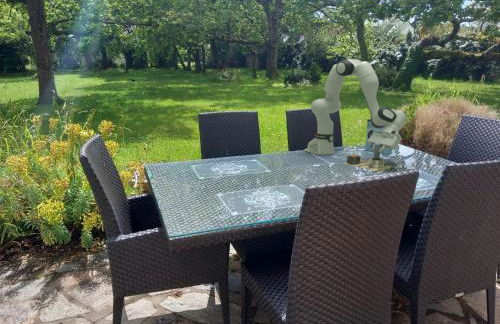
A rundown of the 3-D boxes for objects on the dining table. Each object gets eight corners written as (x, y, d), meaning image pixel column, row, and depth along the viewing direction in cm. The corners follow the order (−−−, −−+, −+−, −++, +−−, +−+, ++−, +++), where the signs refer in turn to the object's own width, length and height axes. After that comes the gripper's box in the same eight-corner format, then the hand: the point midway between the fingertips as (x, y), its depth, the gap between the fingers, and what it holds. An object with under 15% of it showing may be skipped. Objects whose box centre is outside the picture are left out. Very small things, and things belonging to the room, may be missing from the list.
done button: (349, 157, 266) (349, 154, 265) (353, 156, 268) (353, 153, 268) (354, 159, 263) (354, 155, 262) (358, 158, 265) (358, 154, 265)
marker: (372, 160, 256) (373, 143, 253) (375, 160, 258) (376, 142, 255) (377, 161, 253) (378, 144, 250) (380, 161, 255) (381, 143, 253)
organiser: (342, 165, 266) (343, 155, 264) (358, 160, 277) (359, 151, 275) (375, 172, 248) (376, 162, 247) (391, 167, 259) (392, 158, 258)
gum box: (365, 150, 307) (366, 119, 302) (369, 149, 311) (371, 118, 305) (388, 154, 293) (390, 122, 287) (392, 153, 296) (394, 121, 290)
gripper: (373, 128, 263) (361, 145, 261) (399, 132, 246) (387, 151, 244) (377, 134, 266) (366, 151, 264) (404, 139, 249) (391, 157, 247)
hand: (376, 151), depth 254 cm, fingers closed on marker, 3 cm apart
